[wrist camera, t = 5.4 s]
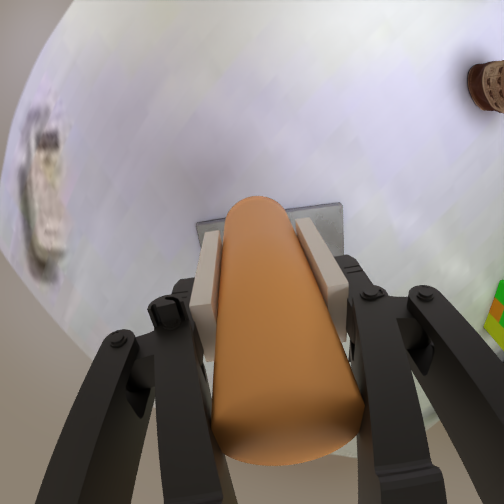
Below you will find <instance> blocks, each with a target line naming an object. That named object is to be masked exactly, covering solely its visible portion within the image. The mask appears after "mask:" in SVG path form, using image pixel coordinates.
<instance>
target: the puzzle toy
mask: <svg viewBox="0 0 504 504" xmlns="http://www.w3.org/2000/svg"><path fill="white" fill-rule="evenodd" d="M484 328H485V329H486V331H487V332H488V333H489V334H490V335H491V336H492V338H493V339H494V340H495V341H496V342H497V344H498V345H499V346H500V347H501V348H502V350H503V351H504V280H500V282H499V285H498V288H497V291H496V294H495V297H494V300H493V303H492V306H491V308H490V311H489V314H488V316H487V319H486V322H485V324H484Z"/></svg>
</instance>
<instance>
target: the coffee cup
mask: <svg viewBox="0 0 504 504" xmlns="http://www.w3.org/2000/svg"><path fill="white" fill-rule="evenodd" d="M468 88H469V91H470V94H471V97H472V99H473V100H474V102H475V104H476V105H477V106H478V107H479V108H480V109H481V110H483V111H485V110H487V111H494V110H495V111H497V112H499V113H504V60H502V61H492V62H487V63H485V64H476V65H474V66H473V67H472V68H471V69H470V71H469V74H468Z"/></svg>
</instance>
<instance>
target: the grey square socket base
mask: <svg viewBox="0 0 504 504" xmlns="http://www.w3.org/2000/svg"><path fill="white" fill-rule="evenodd" d="M285 211H286V213H287V215H288V218H289V220H290V222H291V224H292V226H293V229H294V231H295V233H296V235H297V232H296V221H295V219H300V218H308V217H310V219H311V220H312V222H313V224H314V225H315V227H316V229H317V230H318V232H319V233H320V235H321V237H322V238H323V240H324V242H325V243H326V245H327V247H328V248H329V250H330V252H331V253H332V255H333V257H335V256H341V255H344V235H343V205H342V204H341V203H332V204H324V205H316V206H309V207H301V208H294V209H286V210H285ZM225 220H226V218H224V219H218V220H212V221H205V222H199V223H197V225H196V227H197V231H198V236H199V241H200V245H201V248H202V243H203V239H204V234H205V232H210V231H216V230H219V231H220V237H221V242H222V247H223V236H224V225H225Z"/></svg>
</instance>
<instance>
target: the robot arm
mask: <svg viewBox="0 0 504 504" xmlns="http://www.w3.org/2000/svg"><path fill="white" fill-rule="evenodd" d="M295 221H296V232H297V238H298V240H299V242H300V245H301V247H302V249H303V251H304V254H305V256H306V258H307V261H308V263H309V265H310V268H311V270H312V272H313V275H314V277H315V279H316V282H317V284H318V287H319V289H320V291H321V294H322V296H323V299H324V301H325V303H326V306H327V308H328V311H329V313H330V316H331V318H332V321H333V323H334V326H335V328H336V331H337V333H338V336H339V338H340V341H341V342H346V337H347V333H348V335H349V337H350V347H349V359H348V361H349V362H351V368H352V372H353V374H354V377H355V380H356V382H357V385H358V388H359V390H360V393H361V396H362V398H363V401H364V404H365V408H364V412H363V417H362V421H361V426H360V430H359V433H358V434H357V456H358V504H447V499H446V492H445V485H444V479H443V475H442V472H441V470H440V469H439V467H437V466H434V465H433V464H432V462H431V458H430V453H429V447H428V442H427V437H426V432H425V427H424V422H423V417H422V413H421V408H420V404H419V400H418V395H417V391H416V387H415V383H414V379H413V376H412V372H413V374H414V375H415V377H416V379H417V380H418V382H419V384H420V385H421V387H422V389H423V391H424V392H425V394H426V396H427V397H428V399H429V401H430V403H431V404H432V406H433V408H434V410H435V412H436V413H437V415H438V417H439V419H440V421H441V422H442V424H443V426H444V428H445V430H446V431H447V433H448V435H449V437H450V439H451V441H452V443H453V445H454V446H455V448H456V450H457V452H458V454H459V456H460V458H461V460H462V462H463V464H464V466H465V468H466V470H467V472H468V474H469V476H470V478H471V480H472V482H473V484H474V486H475V489H476V491H477V493H478V495H479V497H480V499H481V500H482V502H483V504H504V364H503V363H502V361H501V360H500V359H499V358H498V357H497V355H496V354H495V353H494V352H493V350H492V349H491V348H490V347H489V346H488V345H487V343H486V342H485V341H484V340H483V339H482V338H481V336H480V335H479V334H478V333H477V332H476V331H475V329H474V328H473V327H472V326H471V325H470V324H469V323H468V322H467V321H466V319H465V318H464V317H463V316H462V315H461V314H460V313H459V312H458V311H457V310H456V308H455V307H454V306H453V305H452V304H451V303H450V302H449V301H448V300H447V299H446V298H445V297H444V296H443V295H442V294H441V293H440V292H439V291H438V290H437V289H435V288H433V287H431V286H427V285H419V286H415V287H413V288H411V289H410V291H409V295H408V297H393V296H388V293H387V292H386V290H385V289H383V288H381V287H379V286H376V285H373V284H372V282H371V281H370V279H369V278H368V276H367V275H366V274H365V272H364V271H363V269H362V268H361V266H360V265H359V263H358V262H357V260H356V259H355V258H353V257H351V256H349V255H341V256H335V257H333V255H332V253H331V252H330V250H329V248H328V247H327V245H326V243H325V242H324V240H323V238H322V237H321V235H320V233H319V232H318V230H317V229H316V227H315V225H314V224H313V222H312V220H311V219H310V217H308V218H300V219H295ZM222 248H223V247H222V242H221V237H220V231H219V230H216V231H210V232H205V234H204V239H203V243H202V248H201V252H200V257H199V261H198V266H197V270H196V275H195V277H194V278H187V279H180V280H179V281H178V282H177V283H176V284H175V285H174V288H173V291H172V294H171V295H165V296H162V297H159V298H157V299H155V300H154V301H152V302H151V303H150V304H149V306H148V309H147V310H148V313H149V315H150V318H151V320H152V323H153V326H154V331H152V332H150V333H148V334H145V335H141V336H138V337H135V335H134V333H133V332H132V331H130V330H126V329H122V330H117V331H115V332H112V333H111V334H109V335H108V336H107V337H106V338H105V339H104V341H103V342H102V344H101V346H100V348H99V350H98V352H97V354H96V356H95V358H94V360H93V362H92V365H91V367H90V369H89V371H88V373H87V375H86V377H85V380H84V382H83V384H82V386H81V388H80V390H79V392H78V395H77V397H76V399H75V401H74V404H73V406H72V408H71V410H70V413H69V415H68V417H67V420H66V422H65V424H64V427H63V429H62V432H61V434H60V437H59V439H58V442H57V444H56V446H55V449H54V452H53V454H52V457H51V459H50V462H49V465H48V467H47V470H46V473H45V476H44V479H43V481H42V484H41V487H40V490H39V493H38V496H37V499H36V502H35V504H131V499H132V494H133V489H134V485H135V480H136V475H137V471H138V466H139V461H140V457H141V453H142V448H143V444H144V440H145V436H146V431H147V428H148V423H149V419H150V415H151V411H152V407H153V403H154V399H155V401H156V421H157V436H158V449H159V460H160V470H161V479H162V488H163V496H164V504H238V503H237V499H236V496H235V492H234V488H233V485H232V481H231V477H230V473H229V470H228V466H227V462H226V458H225V454H224V453H222V451H221V449H220V447H219V445H218V443H217V441H216V438H215V436H214V434H213V432H212V430H211V412H212V398H211V393H210V389H209V384H208V379H207V374H206V369H205V366H204V363H203V354H204V356H205V359H206V362H211V361H214V357H215V341H216V326H217V312H218V298H219V285H220V272H221V260H222ZM411 370H412V372H411Z"/></svg>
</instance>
